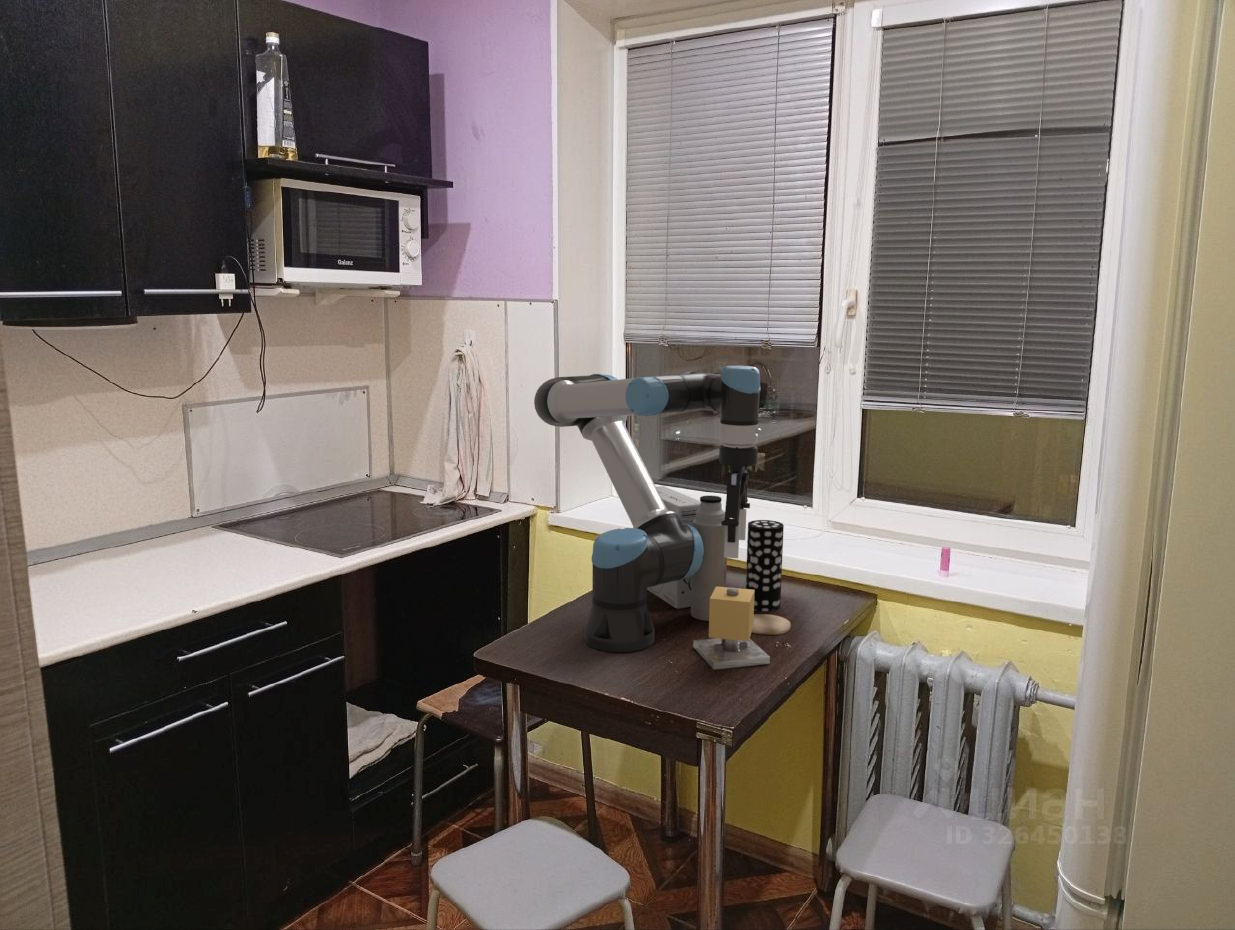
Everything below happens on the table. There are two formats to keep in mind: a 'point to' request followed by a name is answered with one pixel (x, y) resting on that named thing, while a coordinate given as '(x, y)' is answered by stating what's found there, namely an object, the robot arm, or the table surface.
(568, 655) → the table surface
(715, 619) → the yellow knobbed cube
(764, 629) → the cork pad
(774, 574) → the white-spotted black cylinder
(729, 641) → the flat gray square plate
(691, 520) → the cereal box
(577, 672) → the table surface
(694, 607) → the thermos bottle
